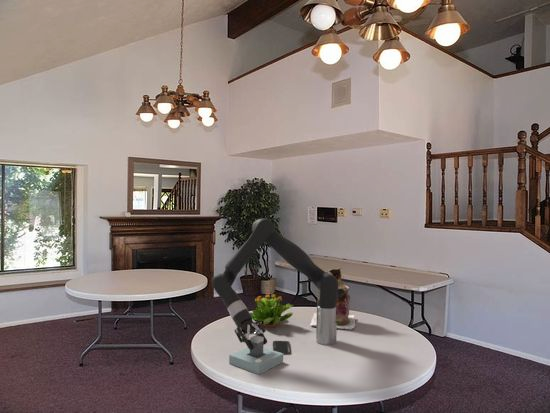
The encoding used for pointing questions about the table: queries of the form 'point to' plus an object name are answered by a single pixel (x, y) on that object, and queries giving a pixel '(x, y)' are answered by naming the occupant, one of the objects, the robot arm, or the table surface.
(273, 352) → the socket
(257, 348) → the plug
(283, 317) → the green flowering plant
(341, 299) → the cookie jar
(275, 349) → the phone
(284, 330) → the table surface
